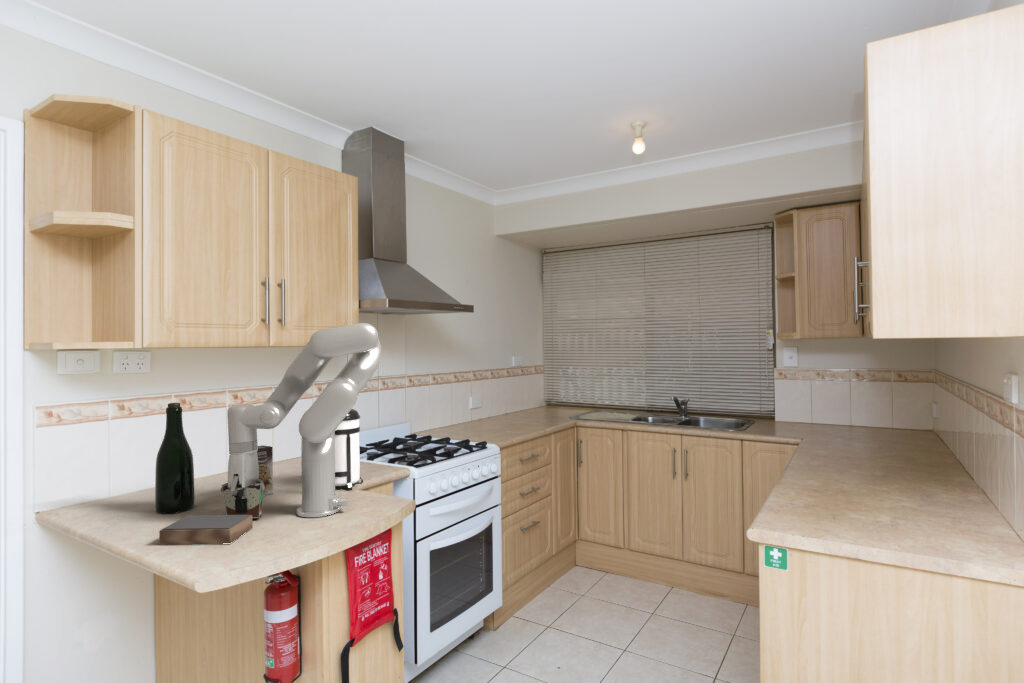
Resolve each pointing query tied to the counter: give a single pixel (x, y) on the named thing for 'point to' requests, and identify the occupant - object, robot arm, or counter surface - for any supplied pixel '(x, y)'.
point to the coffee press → (347, 451)
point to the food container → (252, 499)
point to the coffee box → (266, 468)
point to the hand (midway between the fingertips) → (246, 508)
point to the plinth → (205, 529)
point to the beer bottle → (174, 467)
